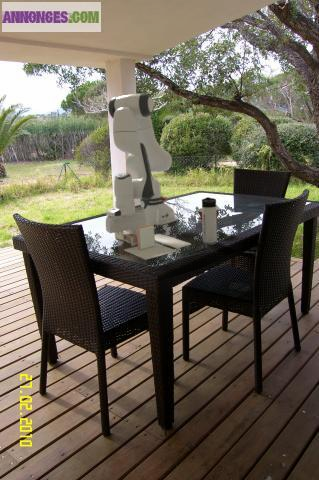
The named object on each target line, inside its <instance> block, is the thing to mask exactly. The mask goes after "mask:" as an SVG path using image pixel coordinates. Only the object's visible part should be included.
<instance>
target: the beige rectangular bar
mask: <svg viewBox="0 0 319 480" xmlns="http://www.w3.org/2000/svg"><path fill="white" fill-rule="evenodd" d="M123 235H125V236H126V239H125V240H122V239H121V235H120V234H119V232H115V233H114V238H116V239H115V240H118V241H123V242H126V243H127V244H130V245H131V247H135V246H138V241H137V234H135V233H134V234H132V233H131V232H129V231H127V230H124V231H123Z"/></svg>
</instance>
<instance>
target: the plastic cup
mask: <svg viewBox="0 0 319 480" xmlns="http://www.w3.org/2000/svg"><path fill="white" fill-rule="evenodd" d="M220 209H221V208H220V207H219V206H216V219H217V220H218V216H219V210H220ZM197 213H198V214H199V218H200V224H202V207H201V208H199V209H198V208H197Z"/></svg>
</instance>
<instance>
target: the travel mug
mask: <svg viewBox="0 0 319 480" xmlns="http://www.w3.org/2000/svg"><path fill="white" fill-rule="evenodd" d="M216 207H217V199H216V198H214V197H209V196H207V197H204V198H202V199H201V208H202V223H201V226H202V243H203V244H204V245H209V246H210V245H215V244H217V243H218V236H217V232H218V231H217V230H218V227H217V226H218V224H217V223H218V218H217V219H216Z"/></svg>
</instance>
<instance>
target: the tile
mask: <svg viewBox="0 0 319 480" xmlns="http://www.w3.org/2000/svg"><path fill="white" fill-rule="evenodd" d="M136 235H137V241H138V245H137V246H138V250H143V249H147V248H150V247H154V246H155V243H156V241H155V236H154V235H155V225H154V224H149V225H144V226H140V227H136Z"/></svg>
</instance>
